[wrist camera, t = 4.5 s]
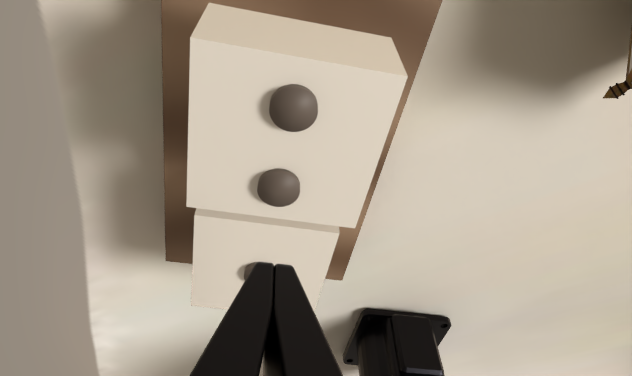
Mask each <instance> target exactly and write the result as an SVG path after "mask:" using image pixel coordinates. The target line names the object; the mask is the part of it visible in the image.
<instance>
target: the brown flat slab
mask: <svg viewBox="0 0 632 376" xmlns="http://www.w3.org/2000/svg"><path fill="white" fill-rule="evenodd" d="M208 3H214V4H219V5H224V6H229V7H234V8H240V9H245V10H250V11H255V12H260V13H266V14H271V15H276V16H281V17H286V18H292V19H297V20H302V21H307V22H313V23H318V24H323V25H328V26H333V27H339V28H344V29H349V30H354V31H359V32H365V33H370V34H375V35H380V36H385V37H391V38H392V40H393V43H394V45H395V47H396V50H397V52H398V54H399V57H400V59H401V62H402V64H403V66H404V69H405V71H406V73H407V76H408V78H407V80H406V83H405V86H404V89H403V92H402V95H401V98H400V101H399V103H398V106H397V109H396V112H395V115H394V118H393V121H392V124H391V127H390V129H389V132H388V135H387V138H386V141H385V144H384V147H383V150H382V152H381V155H380V158H379V161H378V164H377V167H376V170H375V173H374V175H373V178H372V181H371V184H370V187H369V190H368V193H367V196H366V199H365V201H364V204H363V207H362V210H361V213H360V216H359V219H358V222H357V224H356V227H355V228H347V227H340V226H339V233H340V234H339V237H338V240H337V243H336V246H335V249H334V252H333V256H332V259H331V262H330V265H329V268H328V271H327V274H326V277H325V279H333V280H342V279H343V276H344V274H345V271H346V268H347V265H348V262H349V260H350V257H351V254H352V251H353V248H354V246H355V243H356V240H357V237H358V234H359V232H360V229H361V226H362V223H363V221H364V218H365V215H366V212H367V209H368V207H369V204H370V201H371V198H372V195H373V193H374V190H375V187H376V184H377V181H378V179H379V176H380V173H381V170H382V167H383V165H384V162H385V159H386V156H387V153H388V151H389V148H390V145H391V142H392V139H393V137H394V134H395V131H396V128H397V126H398V123H399V120H400V117H401V114H402V112H403V109H404V106H405V103H406V100H407V98H408V95H409V92H410V89H411V86H412V84H413V81H414V78H415V75H416V72H417V70H418V67H419V64H420V61H421V58H422V56H423V53H424V50H425V47H426V44H427V42H428V39H429V36H430V33H431V31H432V28H433V25H434V22H435V19H436V17H437V14H438V11H439V8H440V5H441V3H442V0H161V12H162V71H163V129H164V187H165V245H166V261H171V262H180V263H189V264H193V238H194V215H195V211H196V208H192V207H186V202H187V158H188V113H189V69H190V37H191V35H192V33H193V31H194V29H195V27H196V26H197V24H198V22H199V20H200V18H201V16H202V14H203V13H204V11H205V9H206V7H207V5H208Z"/></svg>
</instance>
